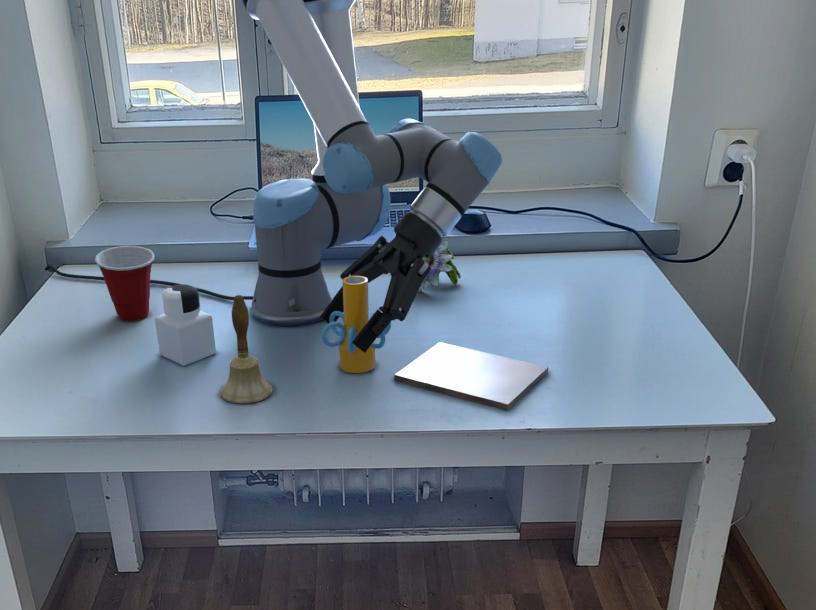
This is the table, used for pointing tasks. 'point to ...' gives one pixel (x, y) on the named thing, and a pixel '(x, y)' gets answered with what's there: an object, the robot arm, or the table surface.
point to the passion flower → (440, 267)
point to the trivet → (472, 375)
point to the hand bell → (244, 364)
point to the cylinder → (353, 327)
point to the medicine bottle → (184, 326)
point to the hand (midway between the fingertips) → (341, 334)
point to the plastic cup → (127, 279)
